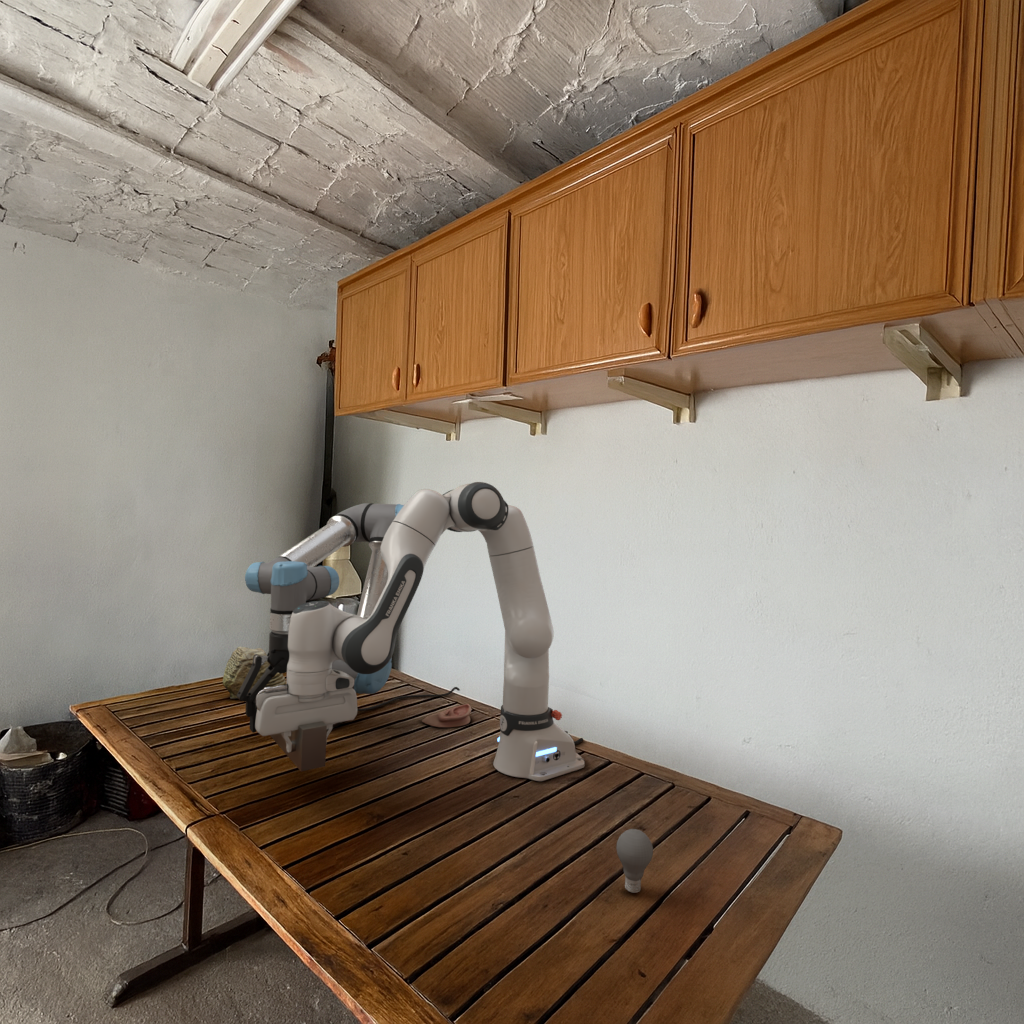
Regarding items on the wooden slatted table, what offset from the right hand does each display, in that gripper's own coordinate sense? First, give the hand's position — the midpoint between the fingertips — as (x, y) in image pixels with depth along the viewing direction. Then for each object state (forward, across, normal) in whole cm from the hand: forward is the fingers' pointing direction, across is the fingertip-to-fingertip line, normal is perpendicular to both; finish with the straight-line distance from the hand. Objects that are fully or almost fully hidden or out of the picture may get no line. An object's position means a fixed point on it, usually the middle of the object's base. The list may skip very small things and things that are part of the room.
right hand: (306, 748), depth 130 cm
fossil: (+12, +10, +77) cm, 78 cm away
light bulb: (+12, +36, -57) cm, 69 cm away
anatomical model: (+12, +50, +27) cm, 58 cm away
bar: (+3, 0, +8) cm, 8 cm away
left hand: (0, 0, +16) cm, 16 cm away
